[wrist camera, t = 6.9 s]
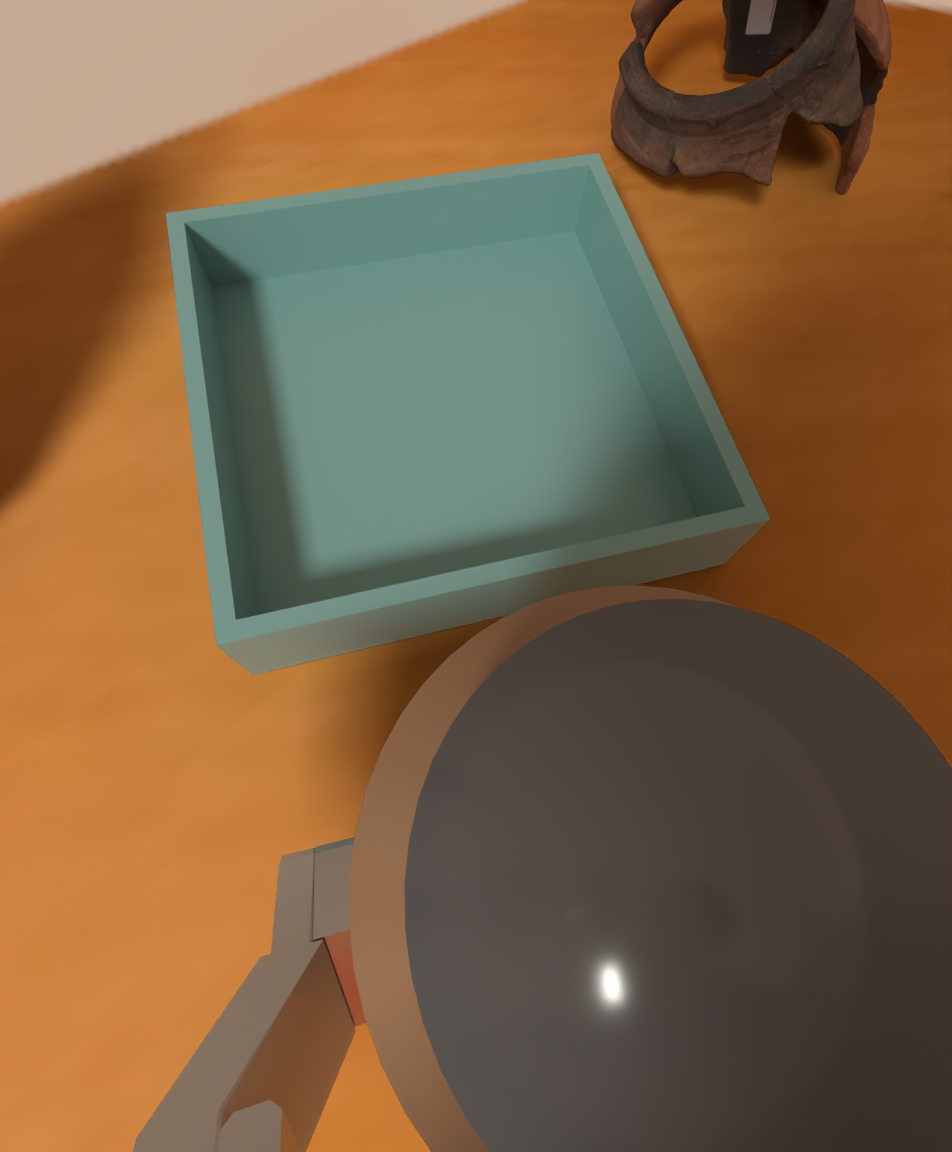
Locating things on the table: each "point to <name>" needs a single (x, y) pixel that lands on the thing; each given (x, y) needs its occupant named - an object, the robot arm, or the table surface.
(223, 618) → the tray
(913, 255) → the table surface
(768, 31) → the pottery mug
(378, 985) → the shaker
